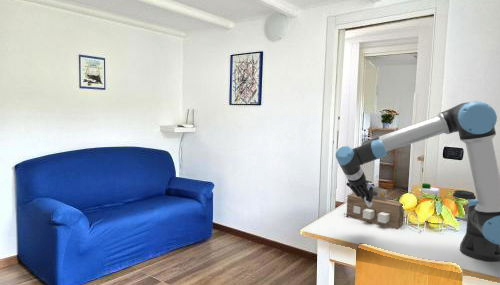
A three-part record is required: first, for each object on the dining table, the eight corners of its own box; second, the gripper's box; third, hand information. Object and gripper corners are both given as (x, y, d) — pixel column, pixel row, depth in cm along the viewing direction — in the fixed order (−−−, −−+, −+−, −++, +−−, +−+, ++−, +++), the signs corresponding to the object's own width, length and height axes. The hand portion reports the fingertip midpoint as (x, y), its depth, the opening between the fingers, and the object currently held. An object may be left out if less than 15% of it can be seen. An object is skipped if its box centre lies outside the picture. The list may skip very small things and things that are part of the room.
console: (396, 229, 177) (399, 194, 175) (346, 216, 196) (348, 184, 194) (402, 225, 182) (405, 191, 181) (353, 213, 202) (355, 182, 200)
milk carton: (420, 217, 198) (423, 182, 196) (438, 220, 193) (441, 184, 191) (417, 220, 191) (420, 184, 189) (435, 224, 186) (438, 187, 184)
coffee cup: (449, 214, 206) (451, 189, 204) (471, 216, 202) (473, 191, 200) (452, 219, 195) (454, 193, 194) (476, 222, 191) (478, 195, 190)
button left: (359, 214, 190) (360, 206, 190) (353, 212, 193) (353, 205, 193) (365, 212, 195) (365, 204, 194) (358, 210, 197) (358, 203, 197)
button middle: (369, 219, 181) (370, 212, 181) (362, 217, 184) (363, 210, 184) (375, 217, 185) (375, 209, 185) (367, 215, 188) (368, 208, 188)
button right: (385, 223, 176) (385, 215, 175) (377, 221, 178) (377, 213, 178) (390, 220, 180) (390, 213, 180) (382, 219, 183) (382, 211, 182)
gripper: (338, 179, 157) (354, 208, 170) (365, 183, 148) (380, 214, 161) (344, 166, 160) (360, 195, 173) (371, 169, 151) (386, 201, 164)
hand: (370, 204), depth 167 cm, fingers closed
